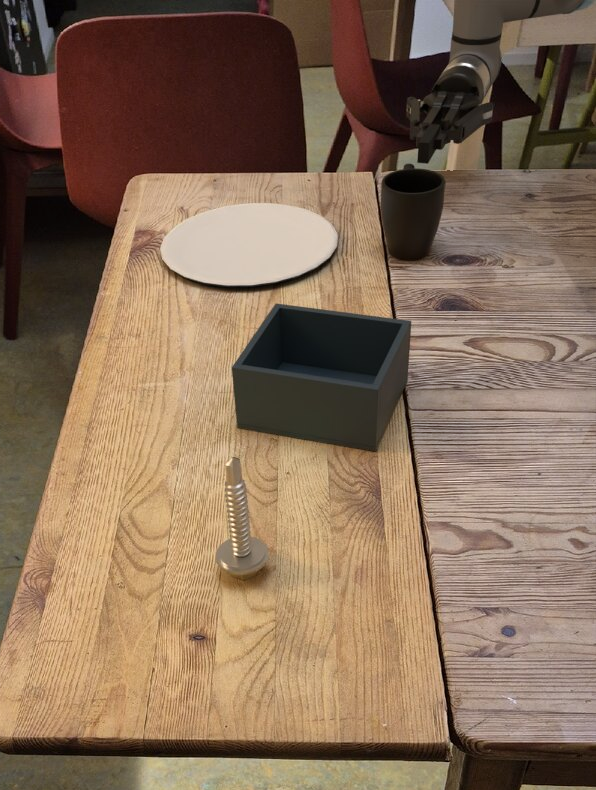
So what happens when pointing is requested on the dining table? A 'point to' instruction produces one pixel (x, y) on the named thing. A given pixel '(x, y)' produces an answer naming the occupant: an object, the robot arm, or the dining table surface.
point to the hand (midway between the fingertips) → (423, 152)
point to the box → (322, 375)
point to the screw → (239, 530)
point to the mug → (411, 210)
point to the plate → (249, 245)
